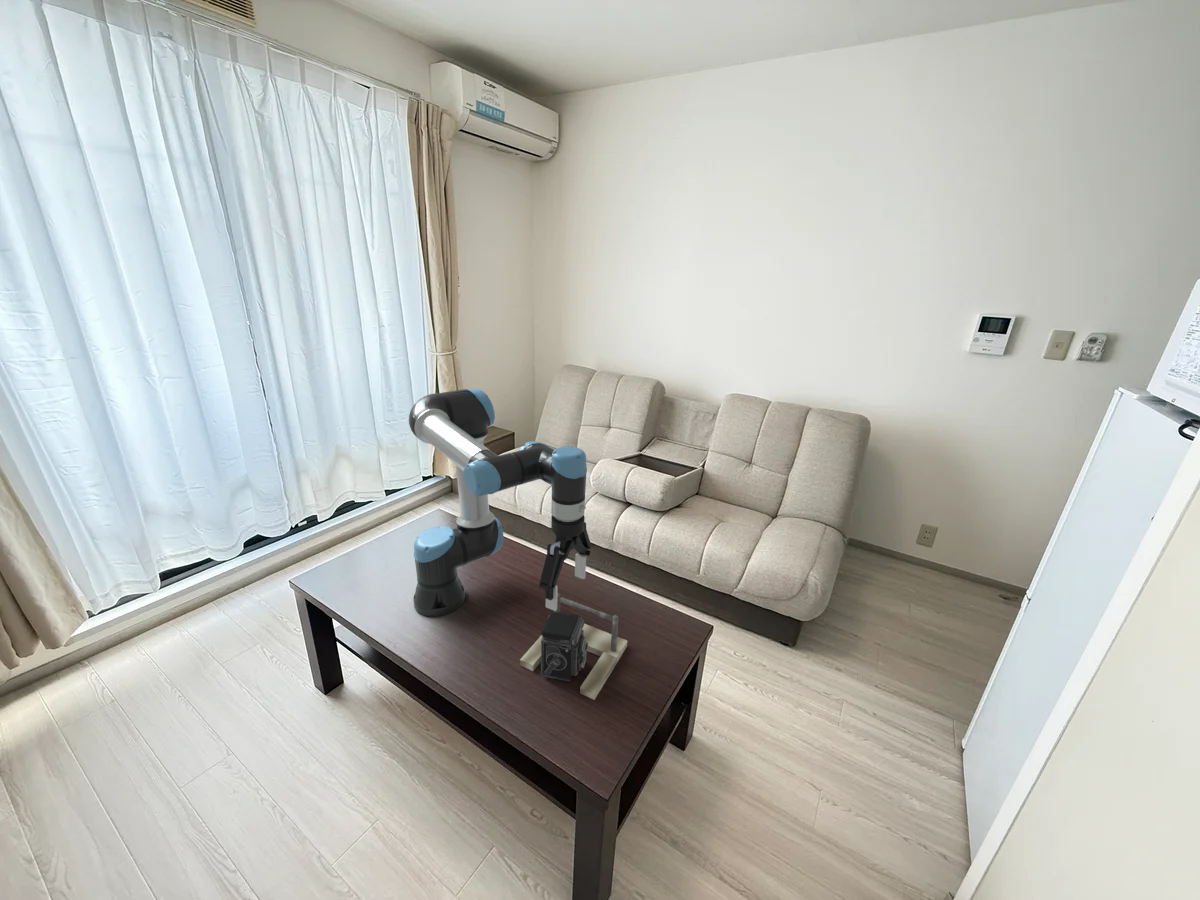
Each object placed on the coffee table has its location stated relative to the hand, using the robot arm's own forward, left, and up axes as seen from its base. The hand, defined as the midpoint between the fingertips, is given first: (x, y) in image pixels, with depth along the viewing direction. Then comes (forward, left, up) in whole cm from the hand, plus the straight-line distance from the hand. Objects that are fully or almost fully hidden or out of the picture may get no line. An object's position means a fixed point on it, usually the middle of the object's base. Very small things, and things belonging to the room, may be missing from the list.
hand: (566, 592), depth 112 cm
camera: (0, 0, -25) cm, 25 cm away
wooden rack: (0, +5, -24) cm, 25 cm away
